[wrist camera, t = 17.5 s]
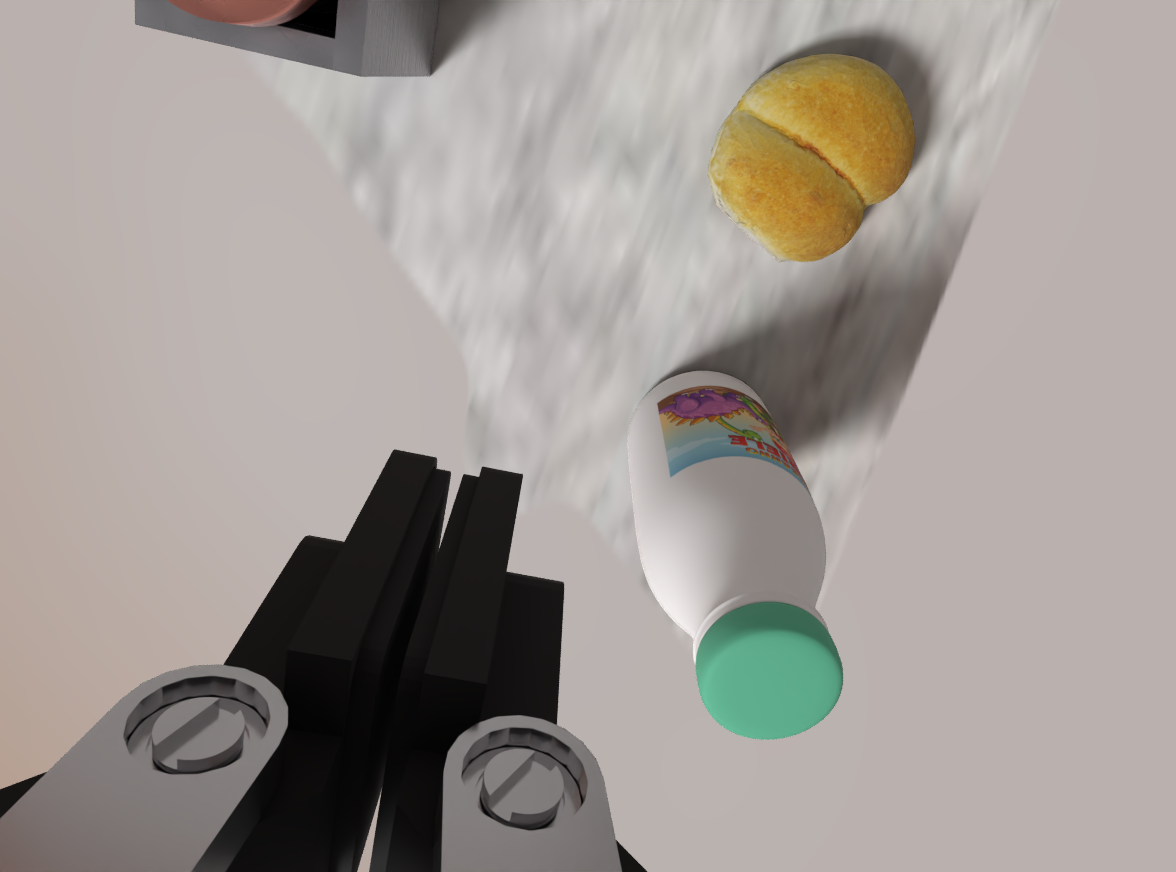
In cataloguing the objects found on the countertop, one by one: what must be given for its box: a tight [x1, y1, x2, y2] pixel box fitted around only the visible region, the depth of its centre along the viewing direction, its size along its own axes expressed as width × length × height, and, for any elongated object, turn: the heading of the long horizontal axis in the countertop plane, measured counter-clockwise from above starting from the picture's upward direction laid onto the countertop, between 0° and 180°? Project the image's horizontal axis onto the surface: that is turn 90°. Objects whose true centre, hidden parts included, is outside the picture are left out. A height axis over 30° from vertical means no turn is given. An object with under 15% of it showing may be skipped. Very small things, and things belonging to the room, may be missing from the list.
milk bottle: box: [628, 371, 843, 739], centre depth 35 cm, size 8×8×20 cm
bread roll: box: [708, 54, 915, 262], centre depth 36 cm, size 8×9×4 cm
